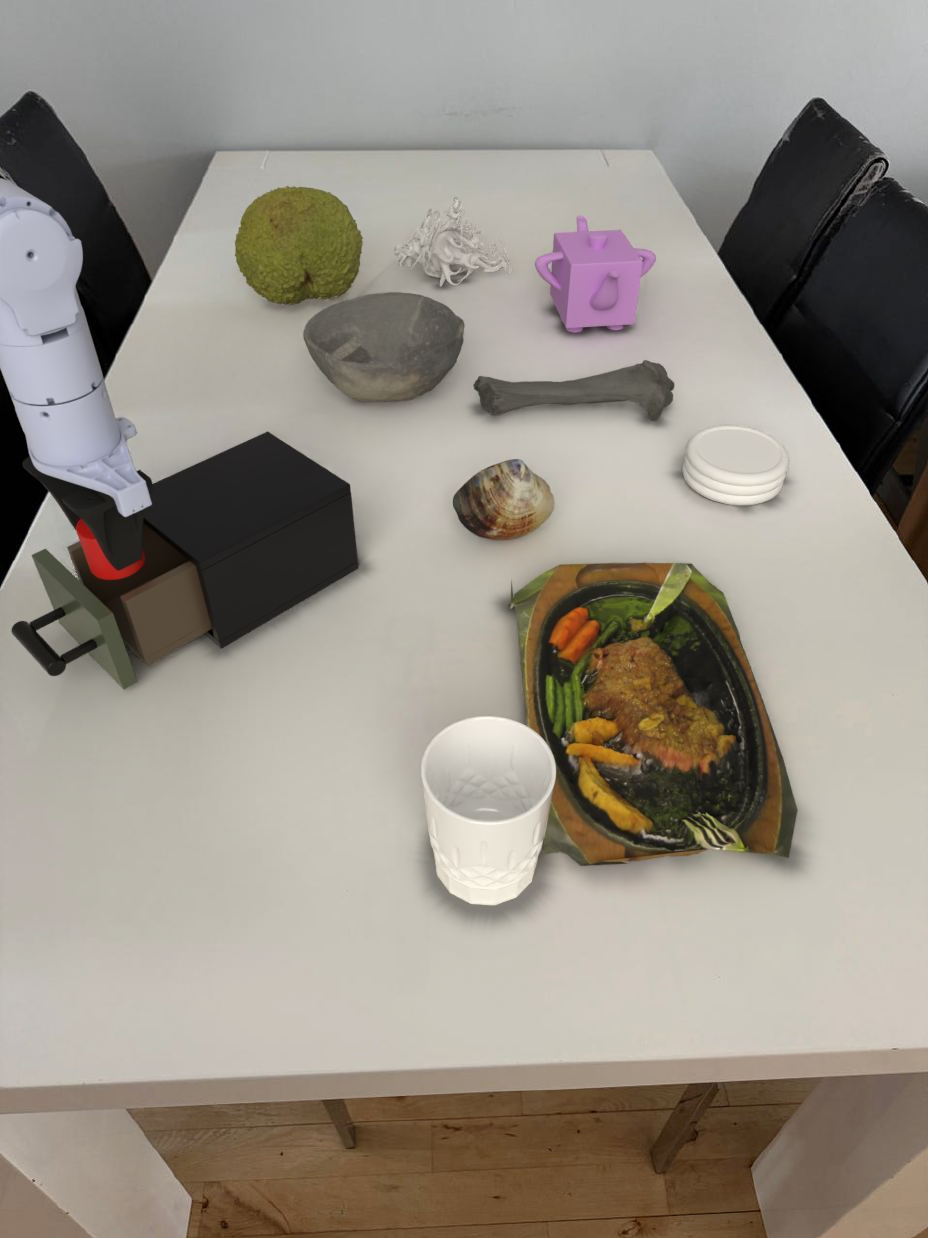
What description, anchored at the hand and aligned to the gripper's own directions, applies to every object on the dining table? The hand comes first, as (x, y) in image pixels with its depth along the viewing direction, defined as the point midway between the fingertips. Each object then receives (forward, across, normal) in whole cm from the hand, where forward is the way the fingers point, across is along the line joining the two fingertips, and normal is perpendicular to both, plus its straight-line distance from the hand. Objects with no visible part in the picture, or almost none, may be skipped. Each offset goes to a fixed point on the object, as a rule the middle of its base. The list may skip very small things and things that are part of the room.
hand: (112, 549), depth 68 cm
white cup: (+10, -34, -6) cm, 36 cm away
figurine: (+10, +35, -69) cm, 78 cm away
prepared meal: (+10, -32, -24) cm, 41 cm away
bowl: (+10, +18, -42) cm, 47 cm away
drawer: (+9, +1, -1) cm, 9 cm away
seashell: (+10, -10, -32) cm, 35 cm away
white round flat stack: (+10, -20, -55) cm, 59 cm away
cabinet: (+10, +1, -12) cm, 15 cm away
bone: (+10, -1, -53) cm, 54 cm away
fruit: (+10, +44, -50) cm, 68 cm away
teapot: (+10, +13, -73) cm, 75 cm away
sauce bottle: (+1, 0, 0) cm, 1 cm away
